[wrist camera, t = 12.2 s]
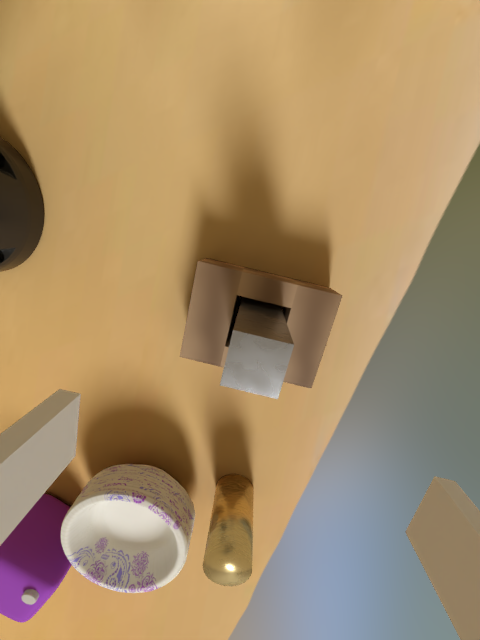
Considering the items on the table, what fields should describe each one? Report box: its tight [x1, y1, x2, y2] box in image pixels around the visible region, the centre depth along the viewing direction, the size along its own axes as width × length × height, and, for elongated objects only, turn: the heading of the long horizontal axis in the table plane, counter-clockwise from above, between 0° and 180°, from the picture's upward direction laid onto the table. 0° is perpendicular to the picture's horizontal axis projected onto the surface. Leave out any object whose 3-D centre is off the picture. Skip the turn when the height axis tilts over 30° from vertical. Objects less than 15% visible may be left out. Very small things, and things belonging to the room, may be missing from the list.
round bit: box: [203, 474, 253, 586], centre depth 35 cm, size 5×5×10 cm
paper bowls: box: [61, 464, 195, 593], centre depth 37 cm, size 15×15×8 cm
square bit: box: [220, 297, 294, 399], centre depth 26 cm, size 4×4×14 cm
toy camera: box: [0, 494, 72, 622], centre depth 39 cm, size 11×14×10 cm
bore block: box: [180, 258, 342, 388], centre depth 31 cm, size 14×10×5 cm
